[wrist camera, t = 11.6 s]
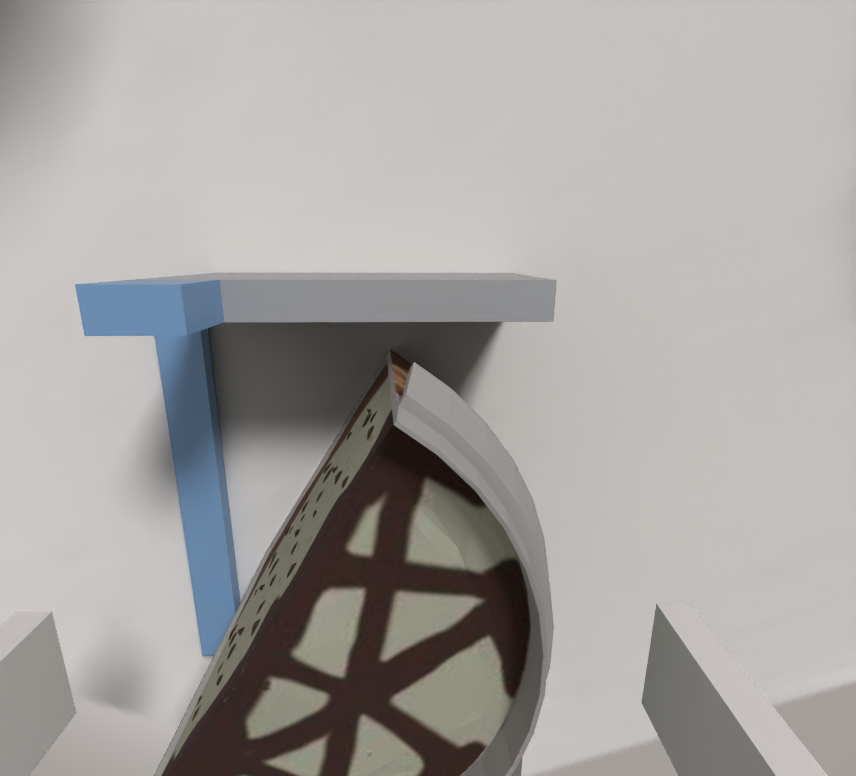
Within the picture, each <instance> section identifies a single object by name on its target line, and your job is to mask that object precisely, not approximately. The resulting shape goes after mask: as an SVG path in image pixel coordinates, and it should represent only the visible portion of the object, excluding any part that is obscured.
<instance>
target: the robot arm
mask: <svg viewBox="0 0 856 776" xmlns="http://www.w3.org/2000/svg"><path fill="white" fill-rule="evenodd" d="M642 704H643V706H644V708H645V710H646V712H647V714H648V716H649V718H650V720H651V722H652V724H653V726H654V728H655V730H656V732H657V734H658V736H659V738H660V740H661V742H662V744H663V746H664V748H665V750H666V752H667V754H668V756H669V758H670V760H671V762H672V764H673V766H674V768H675V770H676V771H677V774H678V775H679V776H828V775H827V774H826V773H825V772H824V770H823V769H822V768H821V767H820V766H819V764H818V763H817V762H816V760H815V759H814V758H813V757H812V755H811V754H810V753H809V752H808V750H807V749H806V748H805V746H804V745H803V744H802V743H801V741H800V740H799V739H798V738H797V736H796V735H795V734H794V733H793V731H792V730H791V729H790V728H789V726H788V725H787V724H786V722H785V721H784V720H783V719H782V718H781V716H780V715H779V714H778V712H777V711H776V710H775V709H774V707H773V706H772V705H771V704H770V702H769V701H768V700H767V699H766V697H765V696H764V695H763V693H762V692H761V691H760V690H759V688H758V687H757V686H756V685H755V683H754V682H753V681H752V680H751V678H750V677H749V676H748V675H747V673H746V672H745V671H744V670H743V668H742V667H741V666H740V665H739V663H738V662H737V661H736V659H735V658H734V657H733V656H732V654H731V653H730V652H729V651H728V649H727V648H726V647H725V646H724V644H723V643H722V642H721V641H720V639H719V638H718V637H717V636H716V634H715V633H714V632H713V630H712V629H711V628H710V627H709V625H708V624H707V623H706V622H705V620H704V619H703V618H702V617H701V615H700V614H699V613H698V612H697V610H696V609H695V608H694V607H693V605H692V604H691V603H666V604H656V610H655V617H654V624H653V630H652V637H651V644H650V650H649V657H648V664H647V670H646V677H645V684H644V690H643V697H642ZM75 714H76V710H75V706H74V702H73V697H72V693H71V689H70V685H69V681H68V677H67V673H66V669H65V664H64V660H63V656H62V652H61V648H60V644H59V640H58V635H57V631H56V627H55V623H54V619H53V615H52V612H15V613H14V614H13V615H12V616H11V617H9V618H8V619H7V620H6V621H5V622H4V623H3V624H2V625H0V776H29V775H30V774H31V772H32V771H33V770H34V768H35V767H36V766H37V764H38V763H39V761H40V760H41V759H42V758H43V756H44V755H45V754H46V752H47V751H48V750H49V748H50V747H51V745H52V744H53V743H54V742H55V740H56V739H57V738H58V736H59V735H60V734H61V732H62V731H63V729H64V728H65V727H66V726H67V724H68V723H69V722H70V720H71V719H72V718H73V716H74V715H75Z"/></svg>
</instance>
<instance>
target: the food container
mask: <svg viewBox="0 0 856 776" xmlns="http://www.w3.org/2000/svg"><path fill="white" fill-rule="evenodd" d="M553 629H554V626H553V615H552V604H551V593H550V583H549V575H548V566H547V558H546V549H545V541H544V536H543V533H542V529H541V526H540V522H539V519H538V515H537V512H536V508H535V505H534V502H533V498H532V496H531V494H530V492H529V490H528V488H527V486H526V484H525V482H524V480H523V478H522V476H521V474H520V472H519V470H518V468H517V466H516V464H515V462H514V460H513V459H512V457H511V456H510V455H509V453H508V452H507V450H506V449H505V448H504V446H503V445H502V444H501V442H500V441H499V439H498V438H497V437H496V435H495V434H494V433H493V431H492V430H491V428H490V427H489V426H488V424H487V423H486V422H485V421H484V420H483V419H482V418H481V417H480V416H479V415H478V414H477V413H476V412H475V411H474V410H473V409H472V408H471V407H470V406H469V405H468V404H467V403H466V402H465V401H464V400H463V399H462V398H461V397H460V396H459V395H457V394H456V393H455V392H454V391H453V390H452V389H451V388H450V387H449V386H447V385H446V384H444V383H443V382H442V381H440V380H439V379H437V378H436V377H435V376H433V375H432V374H430V373H429V372H428V371H426V370H425V369H423V368H422V367H421V366H419V365H418V364H416V363H415V362H414V363H413V364H412V365H411V364H410V363H408V362H407V361H406V360H404V359H403V358H401V357H400V356H398V355H397V354H396V353H394V352H393V351H391V350H390V351H389V352H388V354H387V355H386V357H385V359H384V360H383V362H382V364H381V365H380V367H379V369H378V370H377V372H376V373H375V375H374V377H373V378H372V380H371V382H370V383H369V385H368V386H367V388H366V390H365V391H364V393H363V395H362V396H361V398H360V399H359V401H358V403H357V404H356V406H355V408H354V409H353V411H352V413H351V414H350V416H349V417H348V419H347V421H346V422H345V424H344V426H343V427H342V429H341V430H340V432H339V434H338V435H337V437H336V439H335V440H334V442H333V443H332V445H331V447H330V448H329V450H328V452H327V453H326V455H325V457H324V458H323V460H322V461H321V463H320V465H319V466H318V468H317V470H316V471H315V473H314V474H313V476H312V478H311V479H310V481H309V483H308V484H307V486H306V487H305V489H304V491H303V492H302V494H301V496H300V497H299V499H298V501H297V502H296V504H295V505H294V507H293V509H292V510H291V512H290V514H289V515H288V517H287V518H286V520H285V522H284V523H283V525H282V527H281V528H280V530H279V531H278V533H277V535H276V536H275V538H274V540H273V541H272V543H271V545H270V546H269V548H268V550H267V552H266V554H265V556H264V558H263V560H262V562H261V564H260V566H259V568H258V570H257V572H256V574H255V576H254V578H253V579H252V581H251V583H250V585H249V587H248V589H247V591H246V593H245V595H244V597H243V599H242V601H241V603H240V605H239V607H238V609H237V611H236V613H235V615H234V617H233V619H232V621H231V623H230V625H229V627H228V629H227V631H226V633H225V635H224V637H223V639H222V641H221V643H220V645H219V647H218V649H217V651H216V653H215V655H214V657H213V659H212V661H211V663H210V665H209V667H208V669H207V671H206V673H205V675H204V677H203V679H202V681H201V683H200V685H199V687H198V689H197V691H196V693H195V695H194V697H193V699H192V701H191V703H190V705H189V707H188V709H187V711H186V713H185V715H184V717H183V719H182V721H181V723H180V725H179V727H178V729H177V731H176V733H175V735H174V737H173V739H172V741H171V743H170V745H169V747H168V749H167V751H166V753H165V755H164V757H163V759H162V761H161V763H160V765H159V767H158V769H157V771H156V773H155V775H154V776H511V775H512V774H513V772H514V771H515V769H516V768H517V766H518V764H519V762H520V760H521V758H522V756H523V754H524V752H525V750H526V748H527V746H528V744H529V742H530V740H531V738H532V736H533V734H534V730H535V727H536V723H537V720H538V717H539V713H540V710H541V706H542V703H543V699H544V696H545V685H546V679H547V675H548V672H549V668H550V660H551V649H552V639H553Z"/></svg>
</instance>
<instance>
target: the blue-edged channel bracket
mask: <svg viewBox="0 0 856 776" xmlns="http://www.w3.org/2000/svg"><path fill="white" fill-rule="evenodd" d="M75 287H76V292H77V297H78V302H79V308H80V313H81V318H82V324H83V329H84V334H85V336H155V339H156V346H157V353H158V359H159V366H160V373H161V379H162V386H163V393H164V400H165V406H166V413H167V420H168V426H169V433H170V440H171V446H172V453H173V460H174V467H175V473H176V480H177V487H178V493H179V500H180V507H181V514H182V520H183V527H184V534H185V540H186V547H187V554H188V561H189V567H190V574H191V581H192V587H193V594H194V601H195V607H196V614H197V621H198V628H199V634H200V641H201V648H202V654H203V656H204V655H215V653H216V651H217V649H218V647H219V645H220V643H221V641H222V639H223V637H224V635H225V633H226V631H227V629H228V627H229V625H230V623H231V621H232V619H233V617H234V615H235V613H236V611H237V609H238V607H239V605H240V595H239V586H238V578H237V570H236V561H235V553H234V544H233V536H232V528H231V519H230V511H229V503H228V494H227V486H226V477H225V469H224V461H223V452H222V444H221V436H220V427H219V419H218V410H217V402H216V394H215V385H214V377H213V369H212V360H211V352H210V343H209V335H208V328H210V327H213V326H216V325H218V324H221V323H224V322H553V320H554V306H555V292H556V280H552V279H546V278H539V277H533V276H527V275H520V274H514V273H211V274H198V275H186V276H173V277H161V278H149V279H136V280H124V281H112V282H99V283H87V284H75ZM521 768H522V758H521V760H520V762H519V764H518V766H517V768H516V769H515V771H514V772H513V774H512V775H511V776H521Z"/></svg>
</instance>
